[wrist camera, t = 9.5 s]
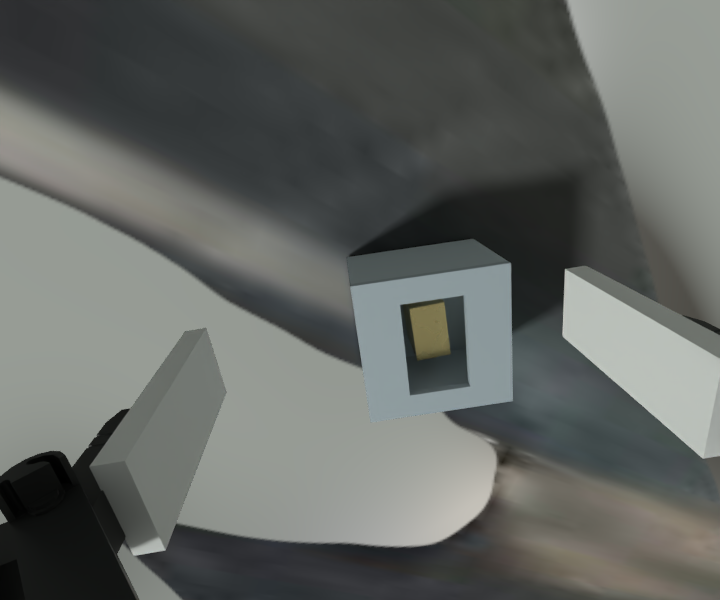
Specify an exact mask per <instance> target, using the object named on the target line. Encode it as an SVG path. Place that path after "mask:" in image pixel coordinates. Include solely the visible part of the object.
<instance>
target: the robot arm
mask: <svg viewBox="0 0 720 600" xmlns="http://www.w3.org/2000/svg"><path fill="white" fill-rule="evenodd" d="M563 337H564V338H565V339H566V340H567V341H569V342H570V343H571V344H572V345H573V346H574V347H575V348H577V349H578V350H579V351H580V352H581V353H582V354H584V355H585V356H586V357H587V358H588V359H589V360H590V361H592V362H593V363H594V364H595V365H596V366H597V367H598V368H600V369H601V370H602V371H603V372H604V373H605V374H607V375H608V376H609V377H610V378H611V379H612V380H613V381H615V382H616V383H617V384H618V385H619V386H620V387H621V388H623V389H624V390H625V391H626V392H627V393H628V394H629V395H631V396H632V397H633V398H634V399H635V400H636V401H638V402H639V403H640V404H641V405H642V406H643V407H644V408H646V409H647V410H648V411H649V412H650V413H651V414H652V415H654V416H655V417H656V418H657V419H658V420H659V421H661V422H662V423H663V424H664V425H665V426H666V427H667V428H669V429H670V430H671V431H672V432H673V433H674V434H675V435H677V436H678V437H679V438H680V439H681V440H682V441H684V442H685V443H686V444H687V445H688V446H689V447H690V448H692V449H693V450H694V451H695V452H696V453H697V454H698V455H700V456H701V457H702V458H703V459H704V458H709V457H716V456H720V329H718V328H716V327H714V326H712V325H711V324H709V323H706V322H704V321H701V320H698V319H694V318H691V317H687V316H684V315H680V314H678V313H676V312H674V311H672V310H670V309H668V308H666V307H664V306H662V305H661V304H659V303H657V302H655V301H653V300H651V299H649V298H647V297H645V296H643V295H641V294H639V293H637V292H636V291H634V290H632V289H630V288H628V287H626V286H624V285H622V284H620V283H618V282H616V281H614V280H612V279H610V278H609V277H607V276H605V275H603V274H601V273H599V272H597V271H595V270H593V269H591V268H589V267H587V266H580V267H574V268H568V269H565V283H564V310H563ZM225 395H226V389H225V386H224V382H223V379H222V376H221V373H220V370H219V367H218V363H217V360H216V357H215V354H214V351H213V348H212V344H211V341H210V338H209V335H208V332H207V329H206V328H203V329H197V330H191V331H185V332H184V334H183V335H182V337H181V338H180V339H179V341H178V342H177V344H176V345H175V347H174V348H173V349H172V351H171V352H170V354H169V355H168V356H167V358H166V359H165V361H164V362H163V364H162V365H161V366H160V368H159V369H158V370H157V372H156V373H155V375H154V376H153V377H152V379H151V380H150V382H149V383H148V385H147V386H146V387H145V389H144V390H143V392H142V393H141V394H140V396H139V397H138V399H137V400H136V401H135V403H134V404H133V406H132V407H131V408H130V409H124V410H121V411H120V412H119V413H117V414H116V415H115V416H114V417H112V418H111V419H110V420H109V421H107V422H106V423H105V425H104V426H103V427H102V429H101V430H100V431H99V433H98V434H97V437H96V438H94V439H93V441H92V442H91V443H90V444H89V448H87V449H86V450H85V451H84V453H83V454H82V455H81V456H80V458H79V459H78V460H77V462H76V463H75V464H74V466H73V467H71V465H70V463H69V462H68V459H67V458H66V456H65V455H64V454H63V453H62V452H60V451H49V452H45V453H41V454H37V455H35V456H32V457H30V458H28V459H25V460H24V461H22V462H20V463H18V464H17V465H15V466H13V467H11V468H10V469H9V470H8V471H6V472H5V473H4V474H3V475H2V476H0V510H1V511H2V513H3V514H4V516H5V517H6V519H7V521H8V522H6V523H3V524H1V525H0V600H139V598H138V596H137V594H136V592H135V590H134V588H133V586H132V584H131V582H130V580H129V577H128V575H127V573H126V572H125V569H124V567H123V565H122V563H121V561H120V560H119V558H118V556H117V553H118V551H119V549H120V547H121V545H122V543H123V541H124V539H126V541H127V543H128V545H129V547H130V549H131V551H132V553H133V555H134V556H135V555H141V554H147V553H152V552H158V551H164V550H166V548H167V545H168V543H169V540H170V537H171V535H172V532H173V530H174V527H175V524H176V522H177V519H178V517H179V514H180V511H181V509H182V506H183V504H184V501H185V498H186V496H187V493H188V491H189V488H190V486H191V483H192V480H193V478H194V475H195V472H196V470H197V467H198V465H199V462H200V459H201V457H202V454H203V452H204V449H205V447H206V444H207V441H208V439H209V436H210V434H211V431H212V428H213V426H214V423H215V420H216V418H217V415H218V413H219V410H220V408H221V405H222V403H223V400H224V397H225Z"/></svg>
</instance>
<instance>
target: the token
mask: <svg viewBox="0 0 720 600" xmlns="http://www.w3.org/2000/svg"><path fill="white" fill-rule="evenodd" d="M403 309H404V316H405V322H406V328H407V334H408V338H409V341H410V343H411V346H412V348H413V351H414V353H415V356H416V358H417V361H419V360H424V359H429V358H434V357H440V356H445V355H450V354H451V352H450V344H449V336H448V328H447V320H446V312H445V304H444V301H443V300H442V299H436V300H430V301H423V302H416V303H409V304H403Z"/></svg>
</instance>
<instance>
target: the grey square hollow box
mask: <svg viewBox="0 0 720 600" xmlns="http://www.w3.org/2000/svg"><path fill="white" fill-rule="evenodd" d="M347 265H348V272H349V280H350V288H351V294H352V301H353V308H354V314H355V321H356V328H357V334H358V341H359V348H360V354H361V361H362V368H363V374H364V381H365V388H366V395H367V401H368V407H369V414H370V421H371V422H377V421H383V420H390V419H397V418H403V417H410V416H416V415H423V414H429V413H436V412H443V411H450V410H456V409H463V408H469V407H476V406H483V405H489V404H496V403H502V402H509V401H513V386H512V306H511V263H510V262H509V261H507V260H505V259H504V258H502V257H501V256H499V255H498V254H496V253H495V252H493V251H491V250H490V249H488V248H487V247H485V246H484V245H482V244H481V243H479V242H477V241H476V240H474V239H468V240H461V241H454V242H447V243H440V244H433V245H427V246H420V247H413V248H406V249H399V250H392V251H386V252H379V253H372V254H365V255H358V256H351V257H347ZM436 299H442V300H443V301H444V304H445V312H446V320H447V328H448V336H449V344H450V352H451V354H450V355H445V356H440V357H434V358H429V359H424V360H419V361H417V358H416V356H415V353H414V351H413V348H412V346H411V343H410V341H409V338H408V334H407V328H406V322H405V316H404V309H403V304H409V303H416V302H423V301H430V300H436Z"/></svg>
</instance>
